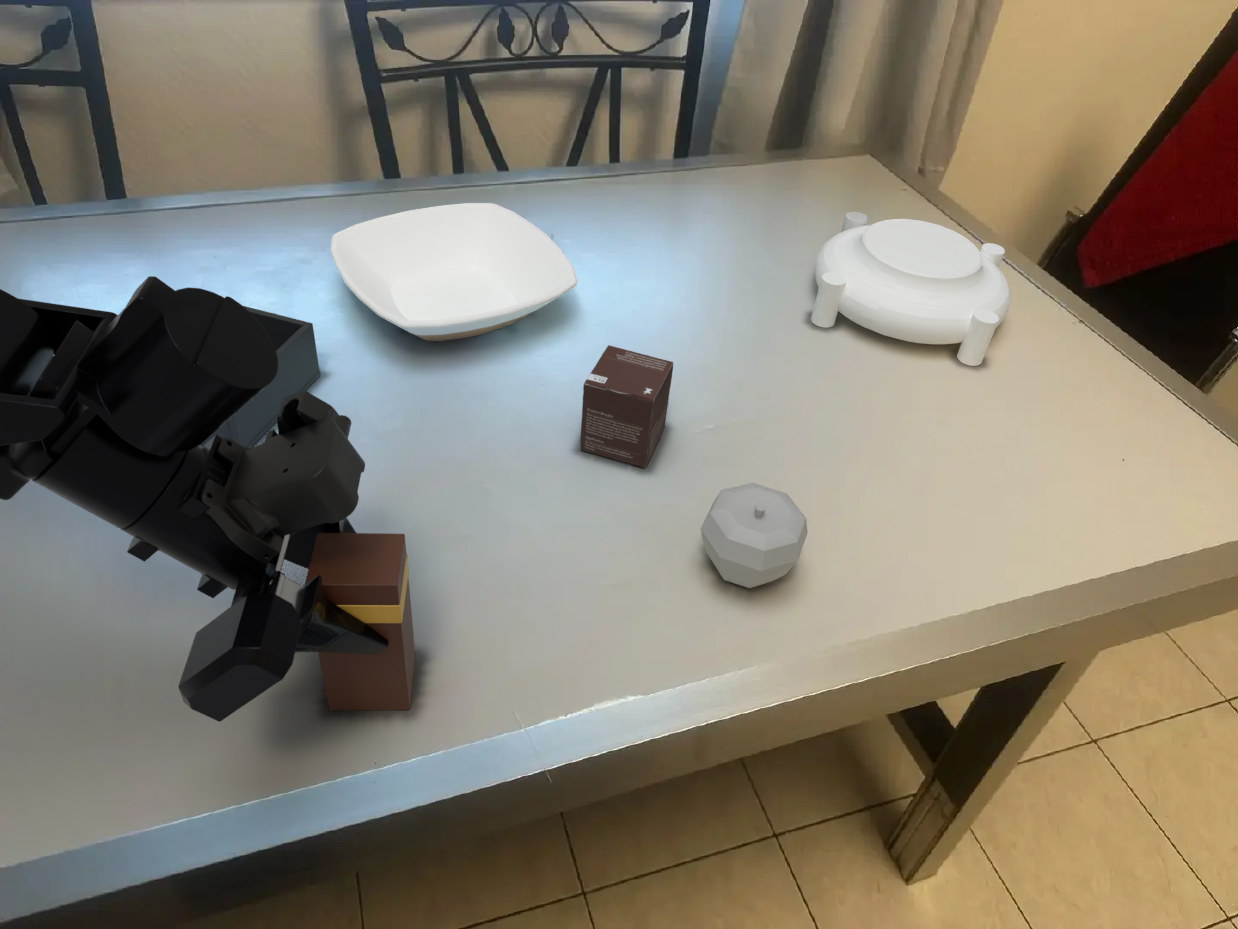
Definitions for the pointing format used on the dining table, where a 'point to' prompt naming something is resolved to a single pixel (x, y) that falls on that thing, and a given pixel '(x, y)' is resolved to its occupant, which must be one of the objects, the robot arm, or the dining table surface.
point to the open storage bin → (291, 378)
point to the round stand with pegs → (912, 284)
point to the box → (625, 405)
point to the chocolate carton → (368, 618)
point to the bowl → (451, 268)
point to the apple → (753, 534)
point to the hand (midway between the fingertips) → (388, 619)
